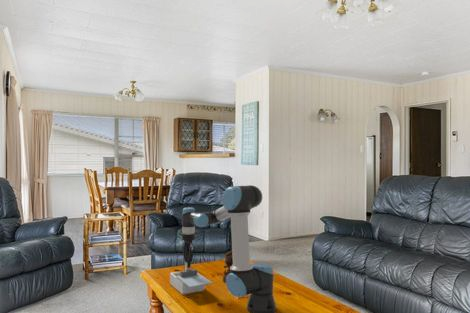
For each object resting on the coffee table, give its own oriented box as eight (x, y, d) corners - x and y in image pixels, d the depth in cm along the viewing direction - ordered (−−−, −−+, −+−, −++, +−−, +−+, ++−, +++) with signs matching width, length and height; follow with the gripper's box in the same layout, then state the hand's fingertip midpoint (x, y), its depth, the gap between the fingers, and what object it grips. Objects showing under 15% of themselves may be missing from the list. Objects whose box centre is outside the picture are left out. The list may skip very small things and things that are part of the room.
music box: (231, 285, 223) (229, 252, 224) (218, 283, 230) (216, 251, 231) (246, 279, 235) (244, 248, 236) (232, 277, 242) (231, 246, 243)
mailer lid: (212, 283, 205) (212, 277, 205) (189, 287, 198) (190, 281, 198) (197, 273, 222) (197, 267, 222) (176, 277, 215) (176, 271, 215)
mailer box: (204, 290, 214) (204, 278, 214) (182, 295, 206) (182, 282, 206) (190, 280, 231) (190, 269, 231) (169, 284, 224) (170, 273, 224)
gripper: (178, 231, 222) (177, 270, 221) (186, 235, 210) (186, 276, 210) (189, 230, 226) (189, 268, 225) (198, 234, 214) (198, 274, 214)
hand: (187, 272), depth 218 cm, fingers closed
